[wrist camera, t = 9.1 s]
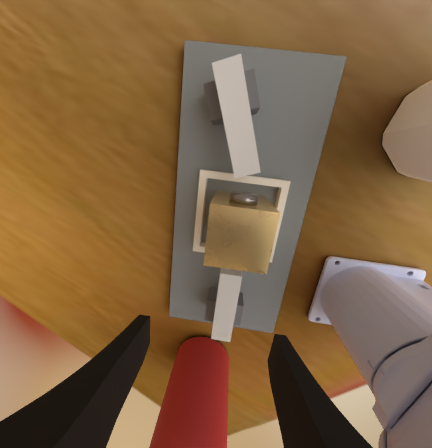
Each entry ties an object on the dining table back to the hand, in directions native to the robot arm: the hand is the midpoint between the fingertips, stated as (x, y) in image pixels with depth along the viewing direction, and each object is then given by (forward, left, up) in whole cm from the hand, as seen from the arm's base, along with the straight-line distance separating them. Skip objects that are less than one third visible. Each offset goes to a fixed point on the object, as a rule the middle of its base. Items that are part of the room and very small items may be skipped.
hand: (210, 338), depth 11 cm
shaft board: (-1, -5, -10) cm, 12 cm away
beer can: (0, +14, -11) cm, 18 cm away
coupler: (-1, -5, -9) cm, 11 cm away
